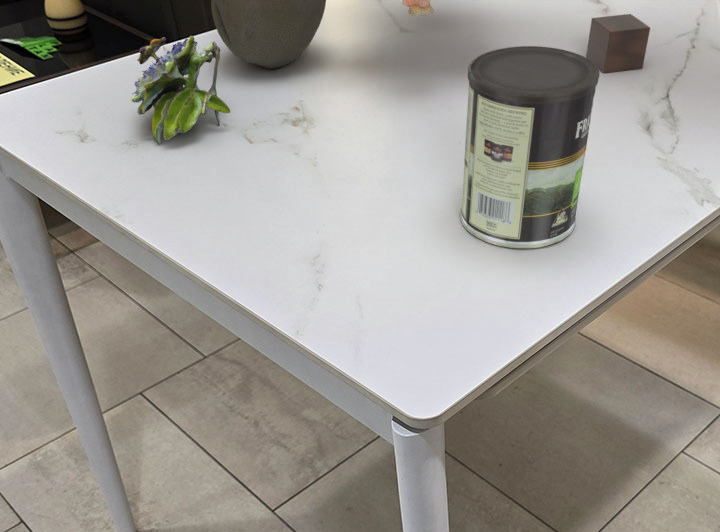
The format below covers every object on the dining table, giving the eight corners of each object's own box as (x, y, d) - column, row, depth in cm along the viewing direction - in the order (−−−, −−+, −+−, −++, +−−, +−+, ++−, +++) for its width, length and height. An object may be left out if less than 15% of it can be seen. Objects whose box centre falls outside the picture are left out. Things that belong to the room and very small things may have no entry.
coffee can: (574, 193, 80) (597, 46, 71) (576, 254, 72) (602, 98, 63) (464, 185, 82) (473, 42, 73) (453, 244, 74) (462, 91, 65)
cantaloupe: (322, 84, 103) (316, -46, 94) (208, 83, 104) (191, -44, 95) (335, 41, 114) (330, -78, 105) (231, 41, 115) (218, -76, 106)
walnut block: (623, 53, 106) (630, 13, 103) (642, 68, 102) (650, 27, 99) (585, 58, 105) (591, 17, 102) (603, 73, 102) (610, 32, 99)
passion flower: (169, 157, 101) (167, 55, 101) (251, 150, 97) (250, 44, 97) (112, 142, 90) (110, 29, 90) (202, 134, 86) (200, 15, 86)
